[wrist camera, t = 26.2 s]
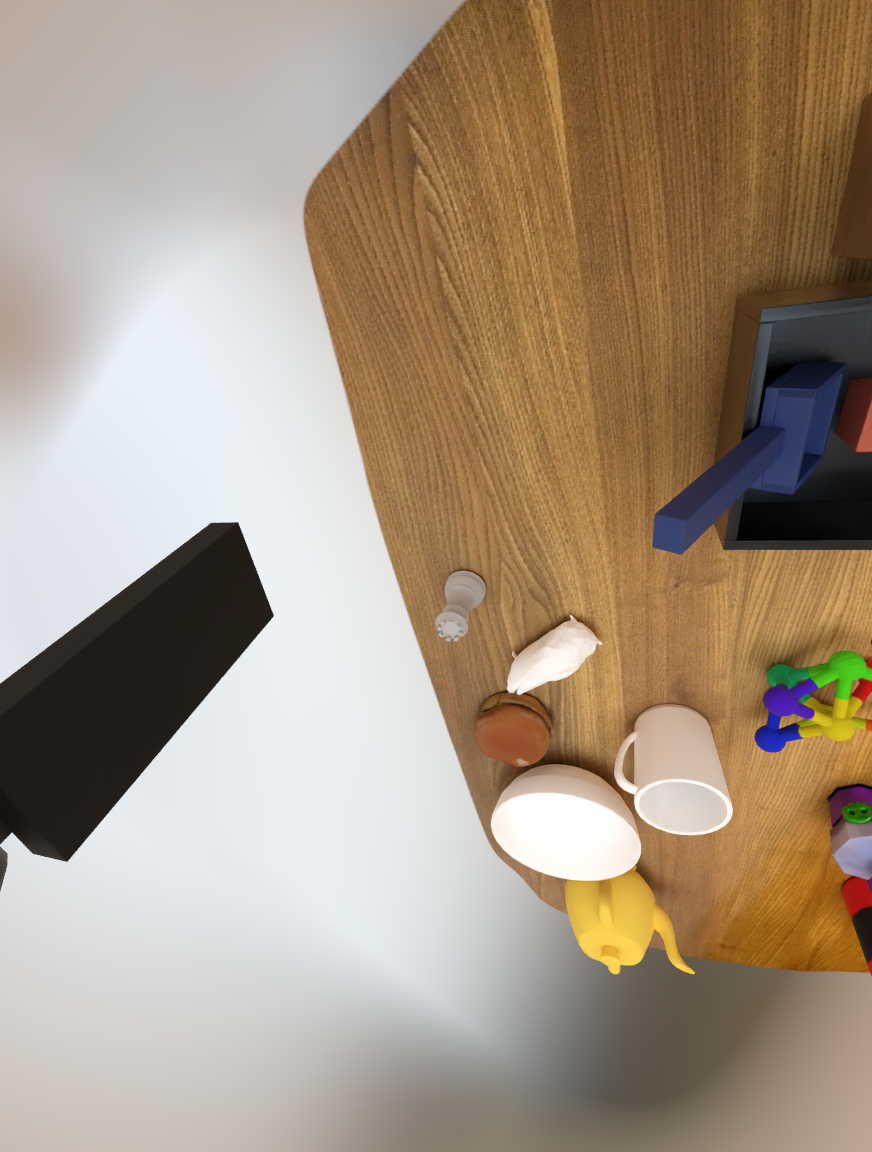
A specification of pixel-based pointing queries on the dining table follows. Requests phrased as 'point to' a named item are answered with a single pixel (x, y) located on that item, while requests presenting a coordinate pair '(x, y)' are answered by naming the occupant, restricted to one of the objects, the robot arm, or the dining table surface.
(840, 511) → the black square open box
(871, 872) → the potion bottle
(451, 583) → the rook chess piece
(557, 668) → the white cloth bag
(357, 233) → the dining table surface
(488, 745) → the burger
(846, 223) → the stand
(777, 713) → the decorative model
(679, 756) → the mug
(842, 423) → the block
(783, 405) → the blue long-handled scoop
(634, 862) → the bowl
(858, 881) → the soda can
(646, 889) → the teapot
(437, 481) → the dining table surface
